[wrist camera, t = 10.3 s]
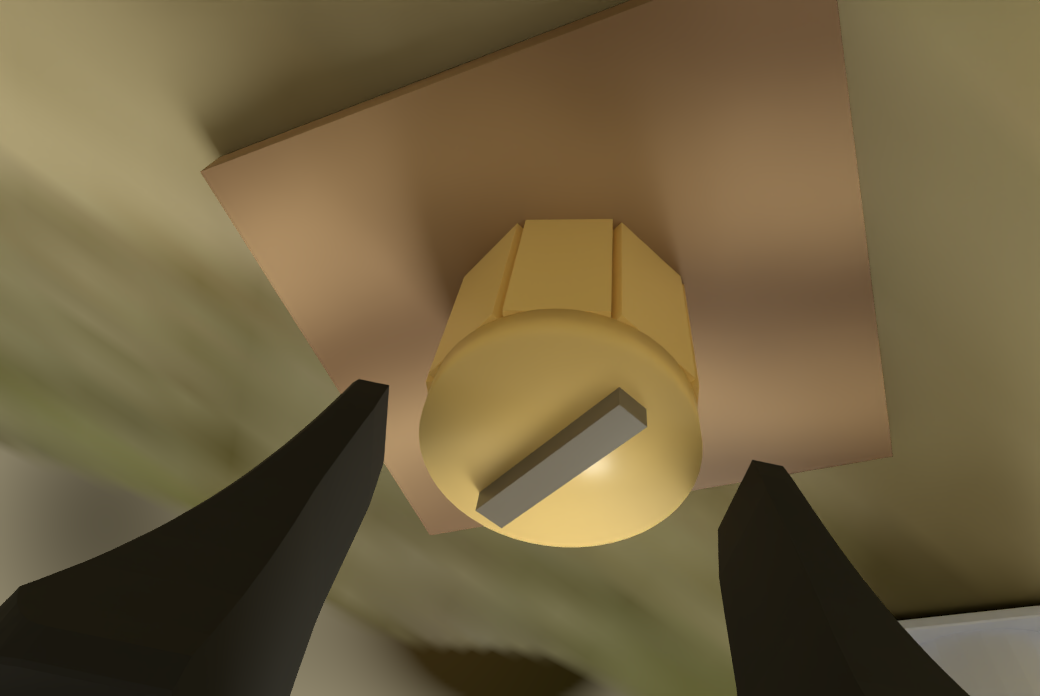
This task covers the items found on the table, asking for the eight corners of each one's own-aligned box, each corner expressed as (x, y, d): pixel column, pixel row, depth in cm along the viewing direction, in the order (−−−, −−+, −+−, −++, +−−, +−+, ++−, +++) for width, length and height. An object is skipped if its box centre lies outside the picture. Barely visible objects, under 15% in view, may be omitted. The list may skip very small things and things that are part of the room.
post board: (881, 431, 20) (933, 544, 17) (436, 512, 24) (407, 615, 21) (816, -72, 13) (880, -48, 10) (219, 157, 17) (128, 226, 14)
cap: (567, 169, 16) (546, 293, 11) (731, 320, 17) (769, 479, 13) (420, 317, 18) (357, 464, 14) (574, 435, 20) (561, 599, 16)
